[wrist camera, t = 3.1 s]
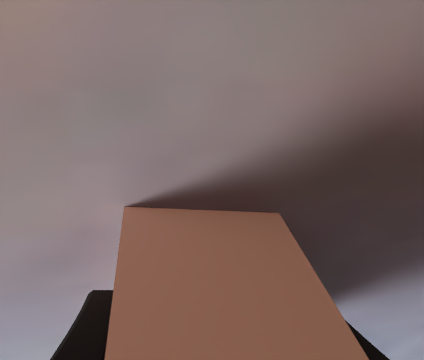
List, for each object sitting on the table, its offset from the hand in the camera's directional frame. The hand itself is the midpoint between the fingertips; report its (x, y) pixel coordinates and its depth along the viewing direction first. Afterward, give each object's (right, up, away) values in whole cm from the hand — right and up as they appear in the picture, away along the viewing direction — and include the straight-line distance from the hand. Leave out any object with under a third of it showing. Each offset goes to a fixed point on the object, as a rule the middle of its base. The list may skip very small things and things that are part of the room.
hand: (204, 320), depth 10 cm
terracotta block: (0, +1, +2) cm, 2 cm away
